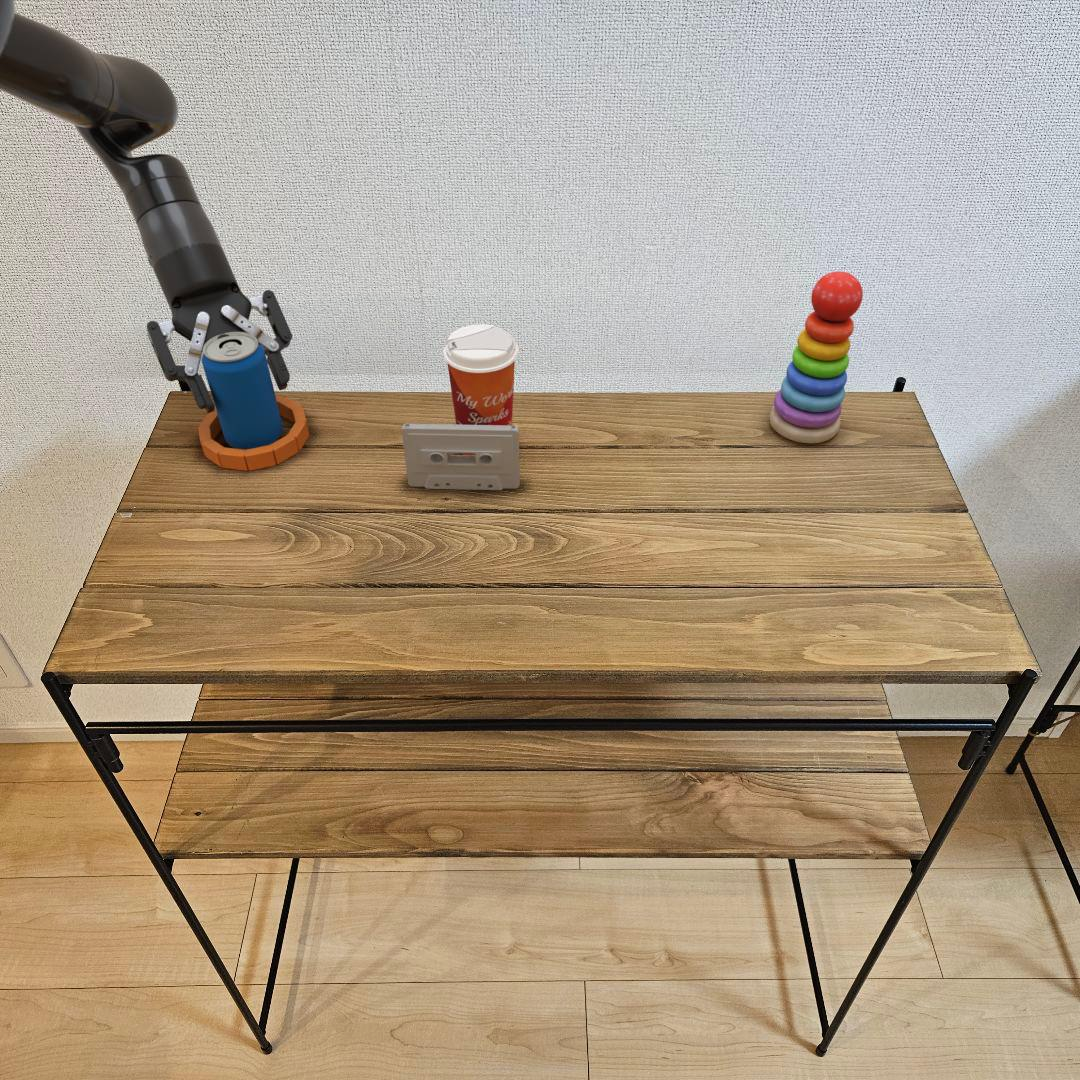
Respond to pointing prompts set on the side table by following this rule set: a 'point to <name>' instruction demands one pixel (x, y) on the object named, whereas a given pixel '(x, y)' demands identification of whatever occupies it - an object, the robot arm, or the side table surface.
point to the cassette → (462, 456)
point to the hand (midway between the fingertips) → (248, 398)
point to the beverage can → (242, 391)
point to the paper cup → (481, 374)
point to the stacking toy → (819, 364)
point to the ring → (259, 455)
